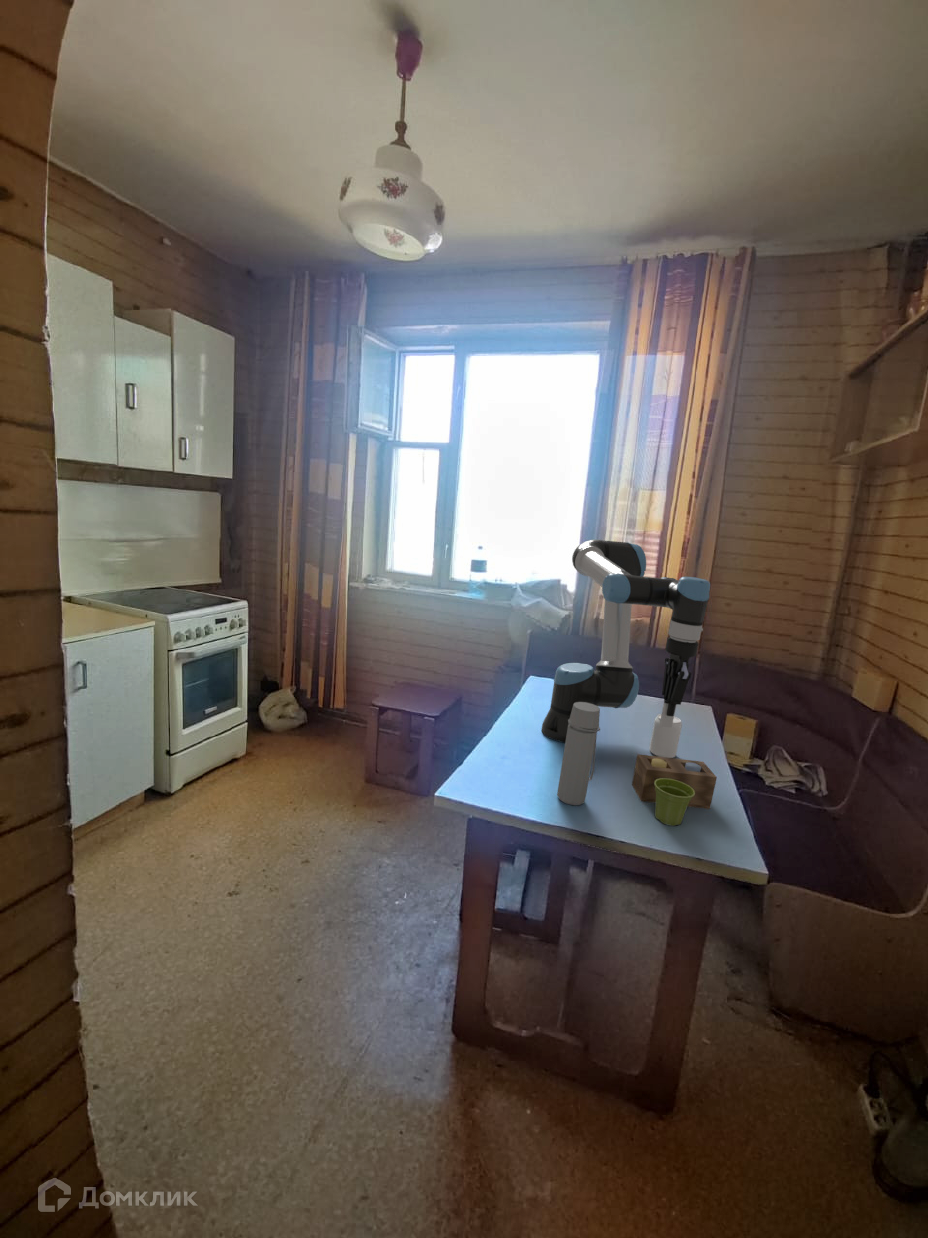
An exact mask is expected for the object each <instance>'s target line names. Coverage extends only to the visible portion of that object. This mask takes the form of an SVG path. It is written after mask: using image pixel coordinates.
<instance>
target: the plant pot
mask: <svg viewBox="0 0 928 1238" xmlns="http://www.w3.org/2000/svg"><path fill="white" fill-rule="evenodd" d="M654 785H655V790H656V803H655V812H654V813H655V819H656V820H659V822H661V823H662V824H665V825H668V826H670V827H671V826H674V827H675V826H676V825H678V826H679V825H681V824H682V821H683V819H684V817H685V813H686V810H687V808H688V807H687V806H688V803H689V801H690V800H691V798H692V797H693V796H694V795H695V791H694V790H693V789H692V788H691V787H690V786H689V785H687V784H685V783H683V782H680V781H677V780H673V779H668V778H660V779H657V780H655V782H654Z"/></svg>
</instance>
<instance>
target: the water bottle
mask: <svg viewBox="0 0 928 1238" xmlns="http://www.w3.org/2000/svg"><path fill="white" fill-rule="evenodd" d="M600 709H601V708H600V707H598V706H596V705H594V704H590V703H586V702H576V703H574V704H573V708H572V711H571V715H570V719H569V720H568V723H569V725H568V729H567V735H566V742H564V748H563V749H564V750H563V755H562V762H561V768H560V776H559V781H558V787H557V793H556V795H557V797H558V799H559V800H560V801H562V802H563V803H565V804H567V805H571V806H580V805H582V804H584V803H585V801H586V797H587V792H588V785H589V782H590V781H592V780H593V777H594V773H595V766H596V765H595V764H596V750H597V749H596V748H597V737H598V736H597V734H598V732H600V730H601V727H600V715H601V711H600Z"/></svg>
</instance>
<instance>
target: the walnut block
mask: <svg viewBox="0 0 928 1238" xmlns="http://www.w3.org/2000/svg"><path fill="white" fill-rule="evenodd" d="M654 758H657V759H661V760H664V761H665V762H667V766H666V768H660V767H652V765H651V762H652V759H654ZM687 762H691V763H695V764H698V765H699V766H701V770H700V772H695V771H687V770H686V769H685V765H686V763H687ZM633 770H634V771H633V776H632V781H631V785H632V787H633V790H634V791H635V793H636V794H637V796H638V798H639V800H640V802H642V803H643V802H646V803H652V804H653V803H654V804H656V790H655V785H654V782H655V780H657V779H660V778H668V779H673V780H677V781H680V782H683V783H685V784H687V785H689V786H690V787H691V788H692V789H693V790H694V791H695V795H694V796H693V797H692V798H691V800H690V801H689V803H688V806H687V808H697V809H707V810H710V809H711V806H712V801H713V796H714V793H715V792H714V791H715V788H716V783H717V776H716V775H715V774H714V772H713V771H712V770H711V769H710V767H708V765H707V764H706V763H705V762H704V761H701V760H691V759H682V758H676V757H673V758H666V757H659V756H656V755H647V754H637V755H636V760H635V766H634V769H633Z"/></svg>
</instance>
